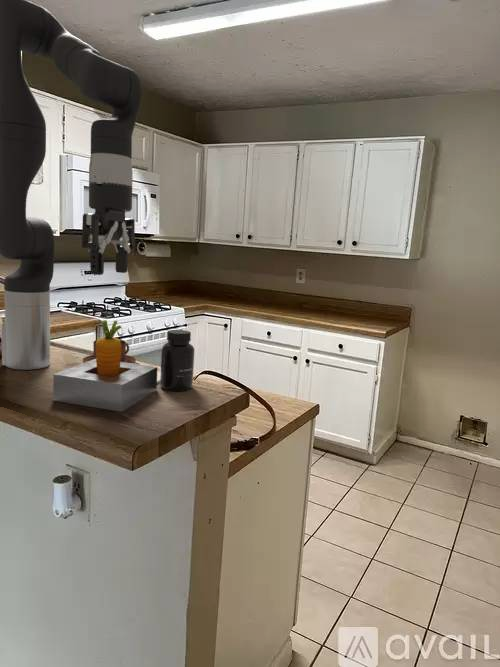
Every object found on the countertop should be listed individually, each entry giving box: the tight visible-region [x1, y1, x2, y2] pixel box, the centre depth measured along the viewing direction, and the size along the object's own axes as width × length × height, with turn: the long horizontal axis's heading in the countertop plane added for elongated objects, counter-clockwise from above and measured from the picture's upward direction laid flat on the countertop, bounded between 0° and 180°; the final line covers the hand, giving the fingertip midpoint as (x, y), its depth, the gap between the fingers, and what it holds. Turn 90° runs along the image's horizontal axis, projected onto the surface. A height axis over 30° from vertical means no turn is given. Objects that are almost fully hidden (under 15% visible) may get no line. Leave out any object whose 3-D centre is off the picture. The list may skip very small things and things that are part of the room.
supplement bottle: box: [159, 329, 195, 392], centre depth 102 cm, size 7×7×12 cm
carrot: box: [96, 319, 122, 377], centre depth 93 cm, size 5×5×15 cm
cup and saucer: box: [82, 339, 137, 364], centre depth 115 cm, size 12×12×6 cm
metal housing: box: [52, 359, 158, 413], centre depth 94 cm, size 14×14×5 cm
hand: (109, 273), depth 90 cm, fingers open, 8 cm apart
